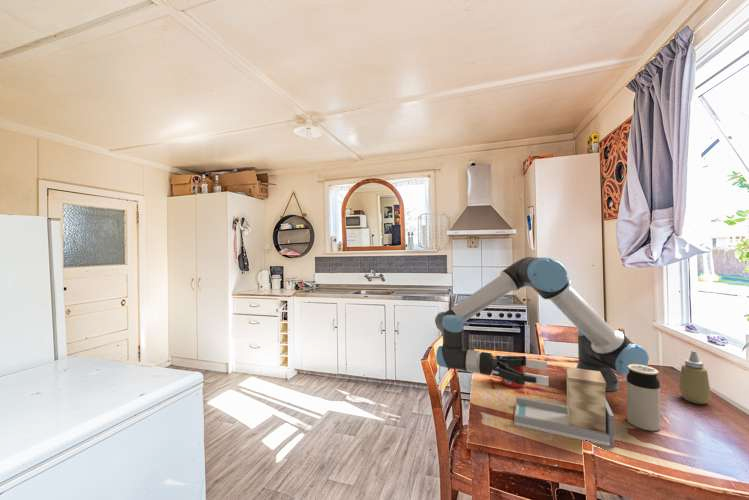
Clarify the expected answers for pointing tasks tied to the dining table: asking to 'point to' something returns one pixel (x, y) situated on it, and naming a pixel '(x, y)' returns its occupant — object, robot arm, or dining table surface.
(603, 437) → the bay
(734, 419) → the dining table surface
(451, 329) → the robot arm
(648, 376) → the travel mug
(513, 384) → the canned food
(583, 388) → the wooden block
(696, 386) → the squeeze bottle
